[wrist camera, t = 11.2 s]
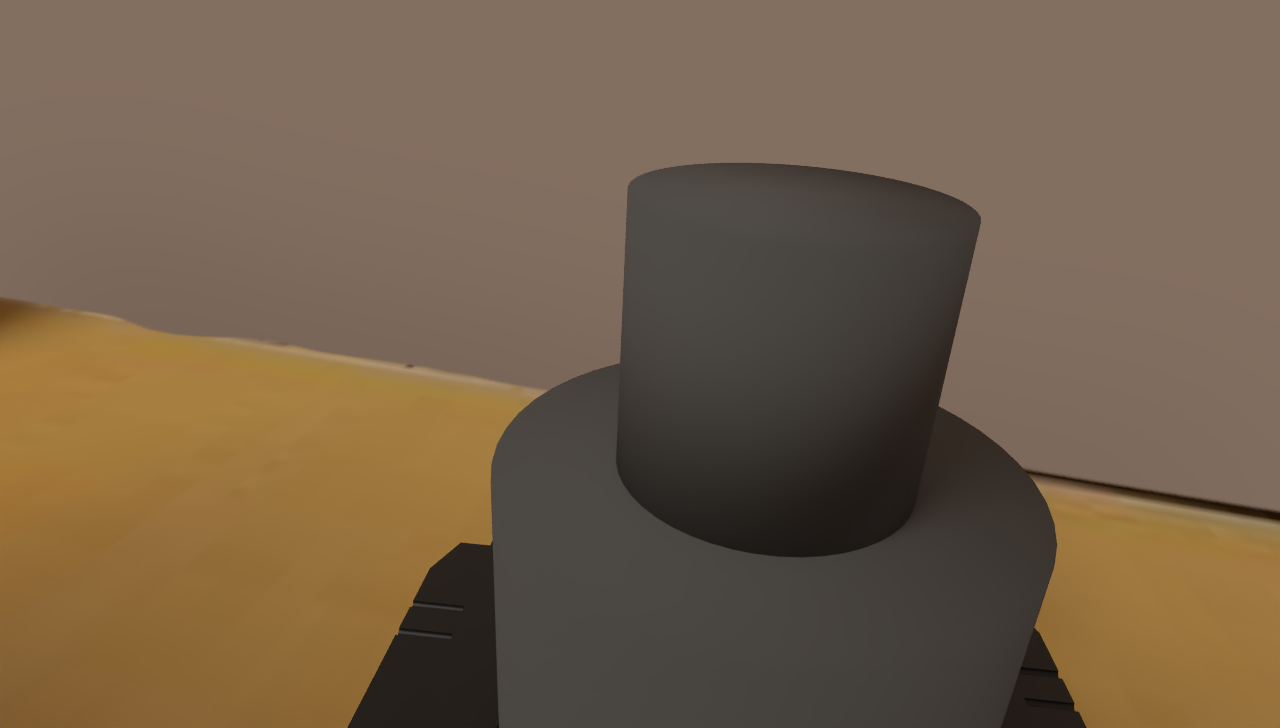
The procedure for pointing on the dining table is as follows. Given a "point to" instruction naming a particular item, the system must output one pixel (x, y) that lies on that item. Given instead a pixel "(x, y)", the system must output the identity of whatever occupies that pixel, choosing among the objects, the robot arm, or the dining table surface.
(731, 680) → the dark grey bottle
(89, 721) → the dining table surface
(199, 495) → the dining table surface
